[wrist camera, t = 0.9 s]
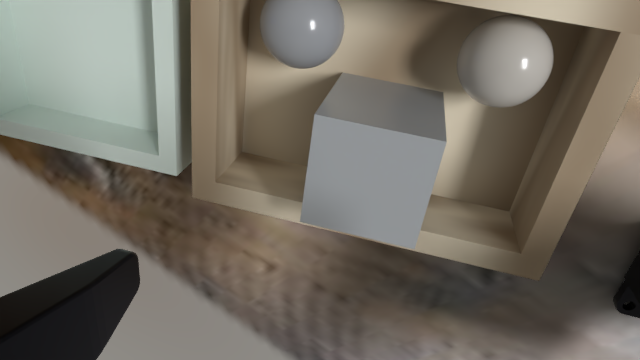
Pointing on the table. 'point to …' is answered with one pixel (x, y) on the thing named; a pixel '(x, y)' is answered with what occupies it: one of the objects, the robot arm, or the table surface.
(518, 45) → the grey ball
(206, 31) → the crate
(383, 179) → the stone block
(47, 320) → the robot arm
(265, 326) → the table surface
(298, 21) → the grey ball
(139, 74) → the tub
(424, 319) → the table surface
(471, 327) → the table surface
